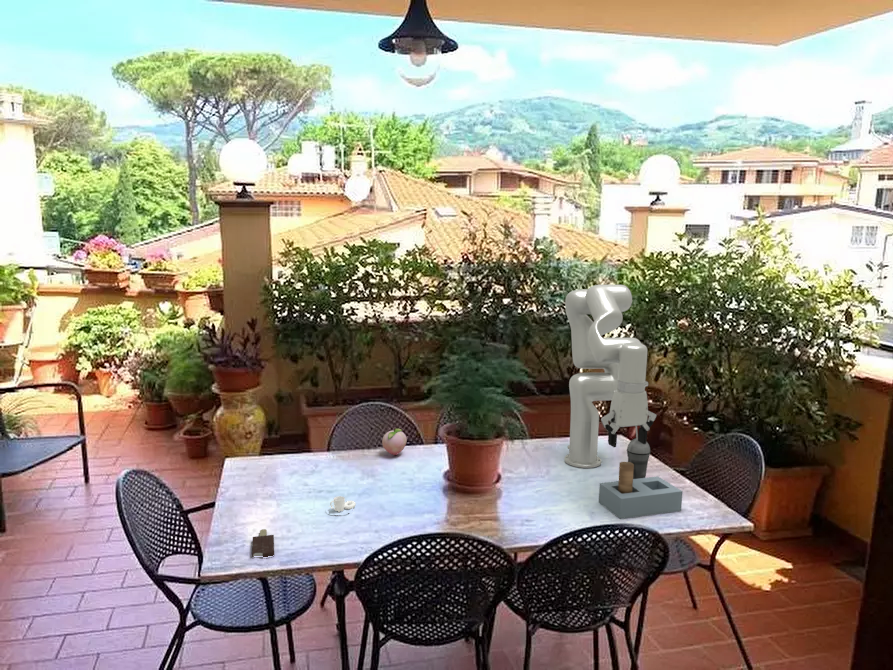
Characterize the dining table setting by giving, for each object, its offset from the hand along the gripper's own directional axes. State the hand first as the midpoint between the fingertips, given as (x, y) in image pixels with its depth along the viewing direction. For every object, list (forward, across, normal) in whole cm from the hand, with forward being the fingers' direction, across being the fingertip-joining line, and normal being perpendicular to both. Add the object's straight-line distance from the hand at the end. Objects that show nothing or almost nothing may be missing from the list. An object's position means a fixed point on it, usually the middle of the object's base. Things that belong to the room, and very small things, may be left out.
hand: (627, 444), depth 192 cm
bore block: (+19, -5, +1) cm, 20 cm away
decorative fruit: (+21, +55, -61) cm, 85 cm away
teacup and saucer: (+20, +78, -18) cm, 82 cm away
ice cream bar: (+20, +102, -5) cm, 104 cm away
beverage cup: (+20, -13, -13) cm, 27 cm away
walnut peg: (+18, 0, +1) cm, 18 cm away
